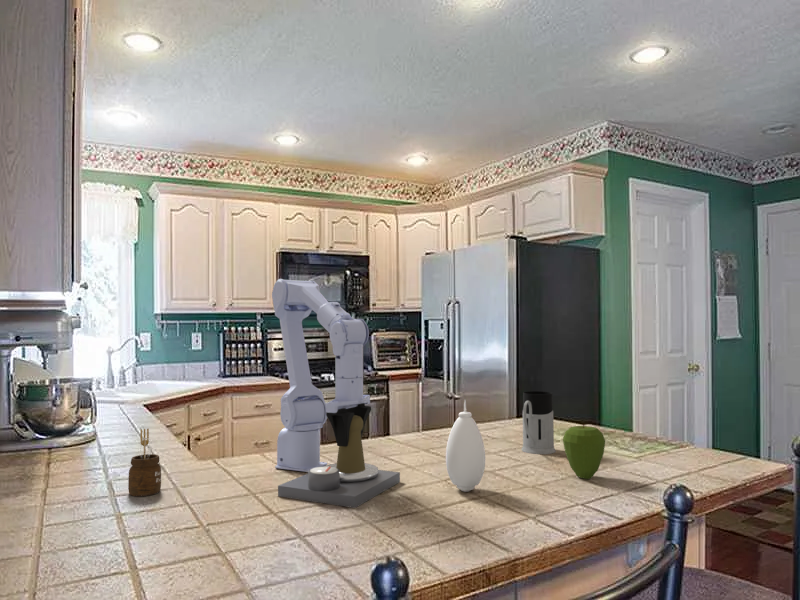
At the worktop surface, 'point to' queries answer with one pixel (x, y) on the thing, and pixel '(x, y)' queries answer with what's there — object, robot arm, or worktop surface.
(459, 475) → the air blower bulb
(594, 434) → the apple
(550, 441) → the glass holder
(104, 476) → the worktop surface
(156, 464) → the utensil holder
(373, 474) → the scale pan
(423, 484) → the worktop surface
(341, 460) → the pepper mill
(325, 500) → the scale base
